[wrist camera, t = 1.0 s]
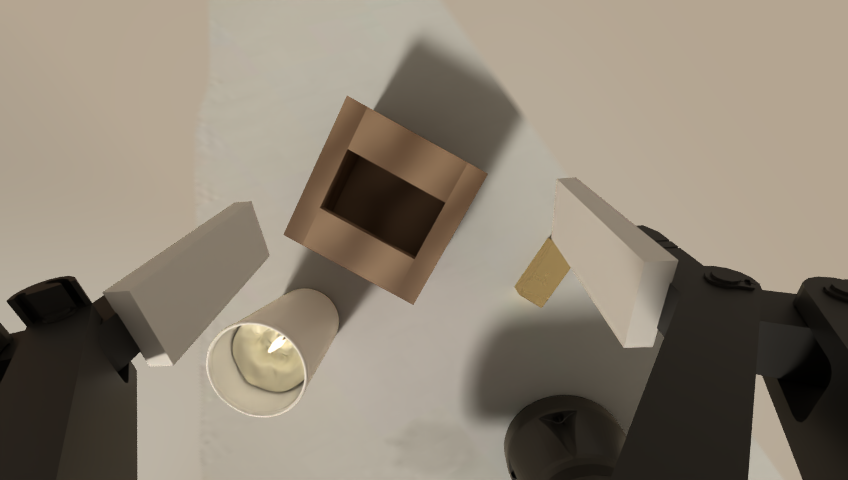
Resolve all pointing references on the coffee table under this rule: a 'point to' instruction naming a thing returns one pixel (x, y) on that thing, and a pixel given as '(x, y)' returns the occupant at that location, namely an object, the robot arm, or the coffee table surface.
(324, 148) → the box
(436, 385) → the coffee table surface
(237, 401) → the candle holder
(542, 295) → the yellow rectangular block
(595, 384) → the coffee table surface
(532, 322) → the coffee table surface
